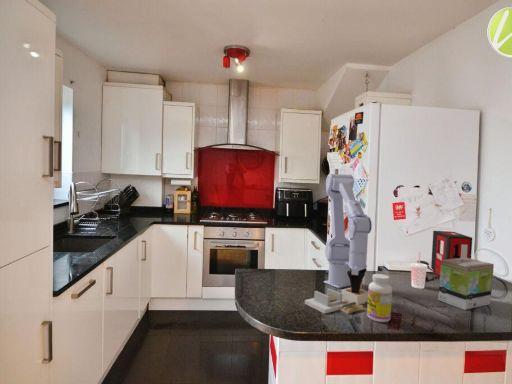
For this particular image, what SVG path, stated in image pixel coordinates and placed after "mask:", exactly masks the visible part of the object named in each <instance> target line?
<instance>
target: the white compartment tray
mask: <svg viewBox="0 0 512 384" xmlns="http://www.w3.org/2000/svg"><path fill="white" fill-rule="evenodd" d="M313 293H314V294H313V295H314V296H313V297H312V298H308V299H304V305H307V306H309V307H311V308H312V309H315V310H317V311H319V312H320V313H322V314H329V313H332V312H337V311H341V310H340V306H341V305H344V304H348V303H350V302H348V301H346V300H343V299H342V292H339V291H337V290H334V289H331V288H327V289H326V294H324V293H322V292H320V291H318V290H314V292H313ZM327 295H330V296H332V297H335V298H337V301H334V302H330V303H329V300H330V297H329V296H327Z"/></svg>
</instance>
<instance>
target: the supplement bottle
mask: <svg viewBox="0 0 512 384" xmlns="http://www.w3.org/2000/svg"><path fill="white" fill-rule="evenodd" d="M389 283H390V276H389V275H386V274H382V273H374V274H372V282H370V283H369V284H368V291H367V292H368V303H367V305H366V306H367V307H366V315H367V317H368V318H369V319H370V320H371V321H375V322H377V323H387V322H389V321H390V320H391V315H392V302H393V301H392V300H393V299H392V298H393V287H392V286H391V284H389Z"/></svg>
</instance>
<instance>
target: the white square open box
mask: <svg viewBox="0 0 512 384" xmlns="http://www.w3.org/2000/svg"><path fill="white" fill-rule="evenodd" d="M350 290H351V287H348V288H347V287H346V288H344V289H341V293H342V299H343V300H346V301H348V302H350V303H352V302H356V304H359V306H361V305H364V304H368V291H367V290H365V289H362V288H361V294H360V295H356V294H353V293H351V292H350Z"/></svg>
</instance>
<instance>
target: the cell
mask: <svg viewBox="0 0 512 384" xmlns="http://www.w3.org/2000/svg"><path fill="white" fill-rule="evenodd" d="M362 283H363V281H362V282H361V285H360V290H359V293H353V292H352V290H350V292H351V293H353V294H356V295H360V294H361V289H362V285H363V284H362Z"/></svg>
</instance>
